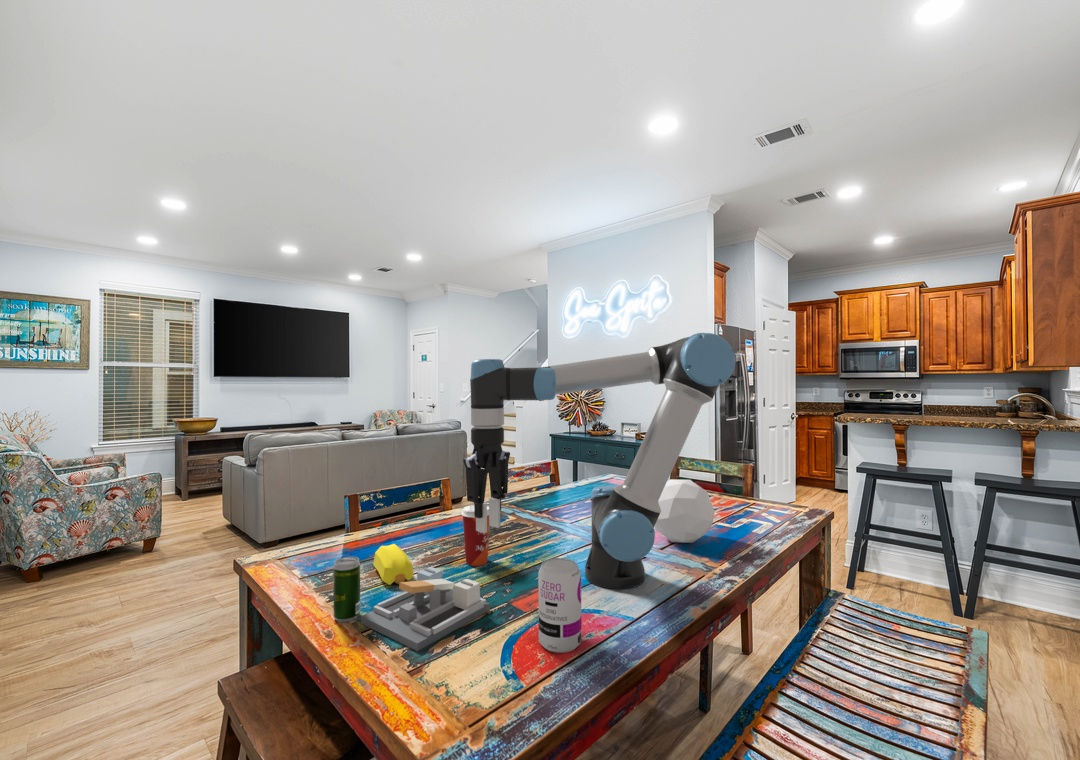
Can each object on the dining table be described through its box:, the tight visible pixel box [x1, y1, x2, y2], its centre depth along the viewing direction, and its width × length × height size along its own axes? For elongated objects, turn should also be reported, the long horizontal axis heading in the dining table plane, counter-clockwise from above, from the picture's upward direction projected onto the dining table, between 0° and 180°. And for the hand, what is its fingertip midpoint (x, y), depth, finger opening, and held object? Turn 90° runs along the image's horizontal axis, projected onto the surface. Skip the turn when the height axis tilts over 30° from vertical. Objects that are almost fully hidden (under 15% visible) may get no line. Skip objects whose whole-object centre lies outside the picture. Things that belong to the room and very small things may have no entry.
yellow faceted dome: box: [372, 543, 415, 586], centre depth 127 cm, size 18×7×8 cm
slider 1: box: [416, 566, 443, 595], centre depth 113 cm, size 4×4×5 cm
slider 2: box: [453, 578, 481, 610], centre depth 106 cm, size 4×4×5 cm
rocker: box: [398, 578, 455, 593], centre depth 104 cm, size 4×12×2 cm, turn 144°
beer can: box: [332, 556, 362, 623], centre depth 105 cm, size 5×5×12 cm
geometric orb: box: [654, 478, 715, 544], centre depth 152 cm, size 19×20×20 cm
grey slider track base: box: [360, 589, 491, 652], centre depth 104 cm, size 18×20×6 cm
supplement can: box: [537, 557, 582, 654], centre depth 94 cm, size 8×8×15 cm
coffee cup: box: [461, 504, 490, 567], centre depth 135 cm, size 8×8×15 cm
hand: (488, 528), depth 111 cm, fingers open, 4 cm apart
